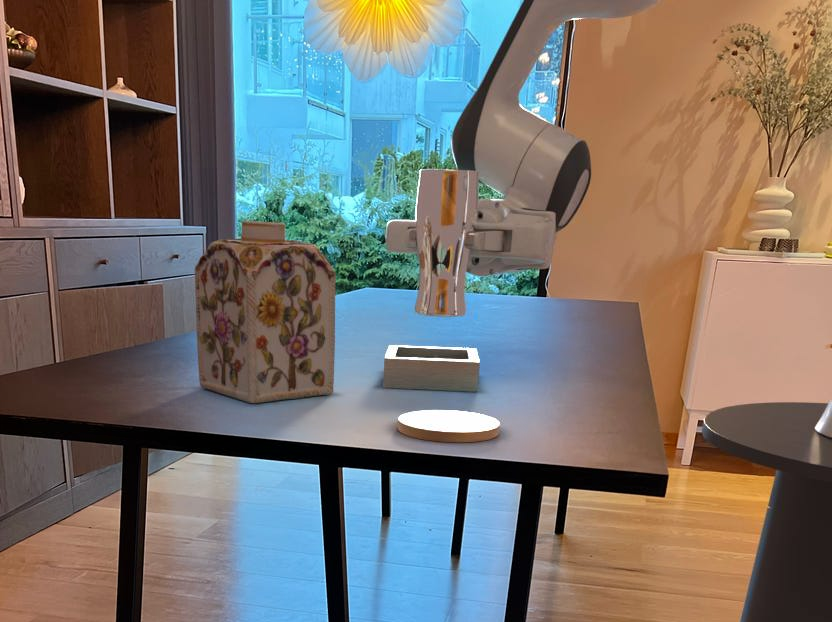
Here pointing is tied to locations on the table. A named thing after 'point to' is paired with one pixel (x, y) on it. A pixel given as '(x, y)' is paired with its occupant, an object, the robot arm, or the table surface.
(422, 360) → the box
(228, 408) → the table surface
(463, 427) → the disc
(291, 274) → the decorative jar
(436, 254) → the beer glass
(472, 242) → the robot arm
